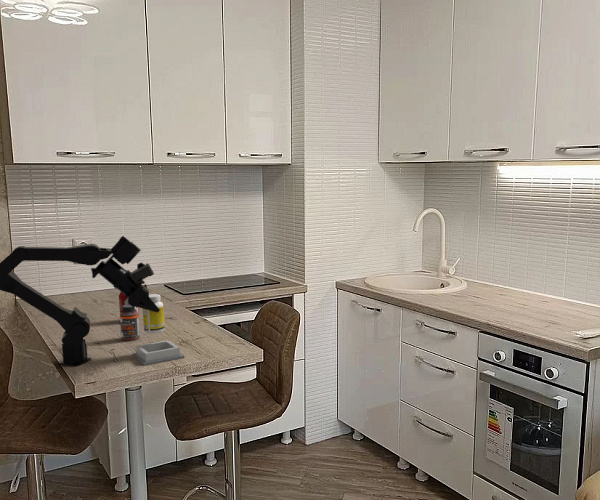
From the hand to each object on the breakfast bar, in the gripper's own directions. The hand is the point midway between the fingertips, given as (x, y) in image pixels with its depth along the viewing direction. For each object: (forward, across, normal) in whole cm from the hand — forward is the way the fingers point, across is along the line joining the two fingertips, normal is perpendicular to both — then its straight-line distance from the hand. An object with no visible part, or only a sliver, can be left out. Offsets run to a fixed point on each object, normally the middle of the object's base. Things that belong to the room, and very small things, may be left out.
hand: (157, 309), depth 175 cm
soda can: (+4, +47, +15) cm, 49 cm away
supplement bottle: (+4, +20, +15) cm, 26 cm away
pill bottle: (+4, 0, +6) cm, 7 cm away
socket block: (+9, -4, +10) cm, 14 cm away
